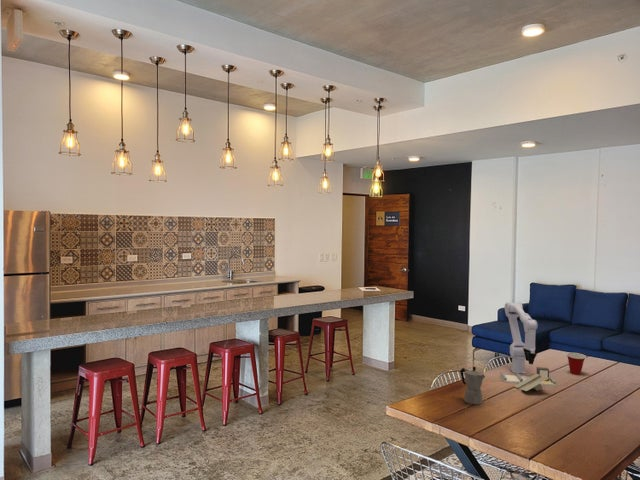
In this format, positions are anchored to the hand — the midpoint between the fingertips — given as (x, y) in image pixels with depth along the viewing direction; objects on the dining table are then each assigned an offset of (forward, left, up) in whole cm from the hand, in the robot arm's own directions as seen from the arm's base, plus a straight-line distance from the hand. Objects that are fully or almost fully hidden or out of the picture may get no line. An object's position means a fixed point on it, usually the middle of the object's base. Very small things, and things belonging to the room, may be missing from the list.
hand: (529, 362), depth 289 cm
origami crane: (+23, -4, -10) cm, 25 cm away
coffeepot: (+48, -39, -10) cm, 63 cm away
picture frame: (+5, +6, -9) cm, 12 cm away
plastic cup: (-19, +32, -10) cm, 39 cm away
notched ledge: (+5, -2, -10) cm, 11 cm away
